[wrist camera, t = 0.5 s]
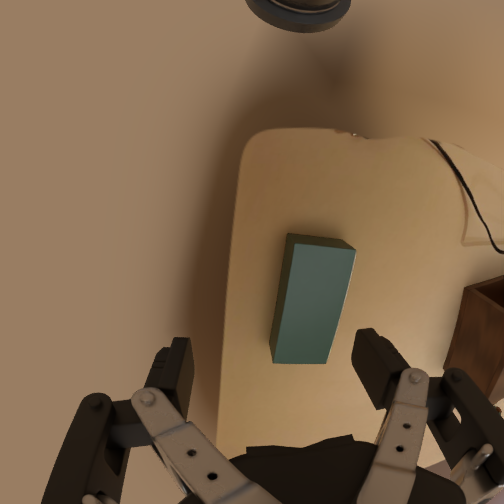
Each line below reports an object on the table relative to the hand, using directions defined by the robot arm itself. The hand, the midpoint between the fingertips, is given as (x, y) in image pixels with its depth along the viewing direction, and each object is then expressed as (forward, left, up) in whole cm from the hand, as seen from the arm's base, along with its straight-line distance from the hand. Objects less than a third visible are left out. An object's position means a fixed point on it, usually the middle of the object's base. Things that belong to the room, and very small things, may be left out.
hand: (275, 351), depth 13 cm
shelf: (+14, +36, -14) cm, 41 cm away
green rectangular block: (+4, +4, -14) cm, 15 cm away
